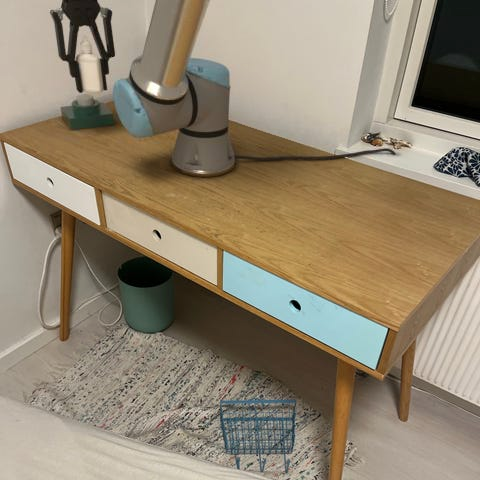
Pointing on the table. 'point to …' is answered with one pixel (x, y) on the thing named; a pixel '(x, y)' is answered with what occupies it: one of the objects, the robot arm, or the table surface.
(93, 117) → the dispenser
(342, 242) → the table surface
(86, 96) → the pale grey short cylinder
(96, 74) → the eye dropper bottle
